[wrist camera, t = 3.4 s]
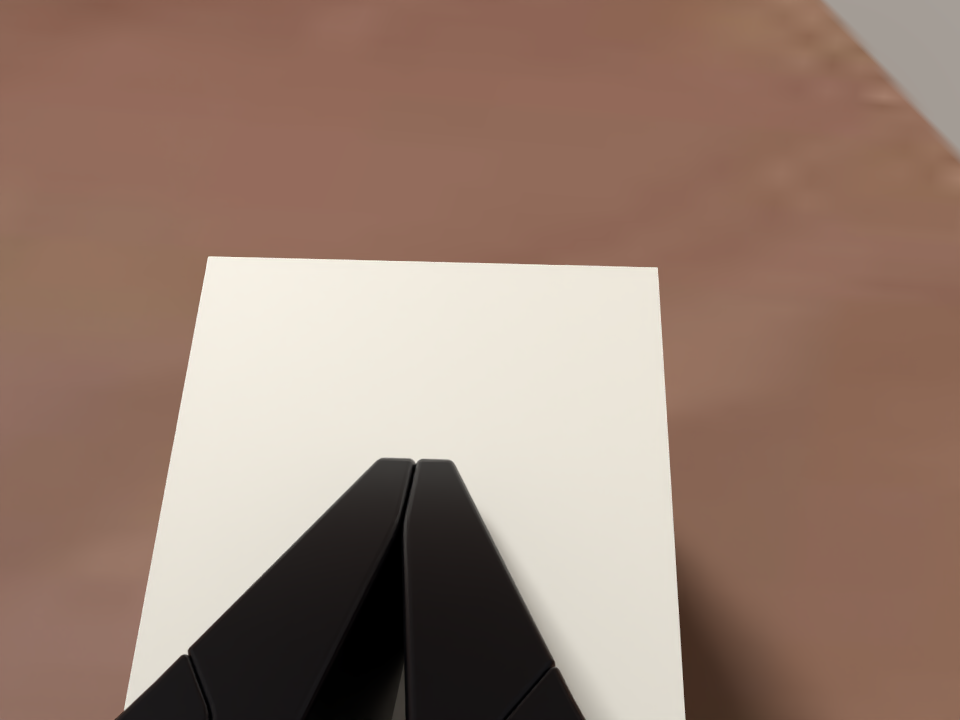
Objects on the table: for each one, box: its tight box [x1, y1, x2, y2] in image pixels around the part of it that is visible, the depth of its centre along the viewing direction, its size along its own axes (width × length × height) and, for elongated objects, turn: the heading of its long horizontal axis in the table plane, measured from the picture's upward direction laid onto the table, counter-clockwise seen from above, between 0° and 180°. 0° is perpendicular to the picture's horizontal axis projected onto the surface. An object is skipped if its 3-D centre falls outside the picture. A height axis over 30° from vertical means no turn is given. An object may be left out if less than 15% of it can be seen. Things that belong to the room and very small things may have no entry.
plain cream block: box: [124, 257, 685, 720], centre depth 13 cm, size 6×6×8 cm
